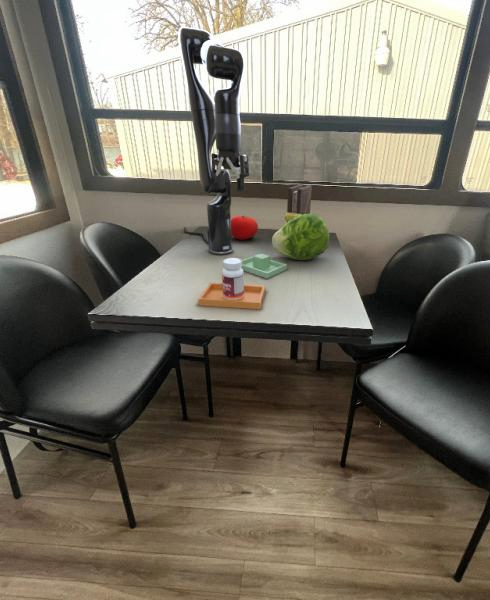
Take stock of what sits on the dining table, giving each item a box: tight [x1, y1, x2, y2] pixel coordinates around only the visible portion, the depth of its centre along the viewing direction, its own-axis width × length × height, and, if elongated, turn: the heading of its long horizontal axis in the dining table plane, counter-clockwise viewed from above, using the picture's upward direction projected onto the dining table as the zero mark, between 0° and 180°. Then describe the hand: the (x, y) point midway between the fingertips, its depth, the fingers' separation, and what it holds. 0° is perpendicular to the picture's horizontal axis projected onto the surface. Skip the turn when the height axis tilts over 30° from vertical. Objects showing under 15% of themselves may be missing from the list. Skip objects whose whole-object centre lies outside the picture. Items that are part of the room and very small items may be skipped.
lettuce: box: [271, 213, 330, 261], centre depth 120 cm, size 19×23×18 cm
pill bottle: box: [221, 257, 245, 300], centre depth 86 cm, size 6×6×11 cm
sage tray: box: [240, 256, 288, 279], centre depth 111 cm, size 16×12×2 cm
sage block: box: [252, 253, 271, 270], centre depth 110 cm, size 4×4×4 cm
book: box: [284, 184, 313, 223], centre depth 144 cm, size 22×8×25 cm, turn 160°
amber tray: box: [197, 282, 266, 310], centre depth 88 cm, size 18×12×2 cm, turn 87°
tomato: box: [231, 215, 259, 241], centre depth 144 cm, size 12×14×11 cm
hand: (230, 189), depth 96 cm, fingers open, 8 cm apart
